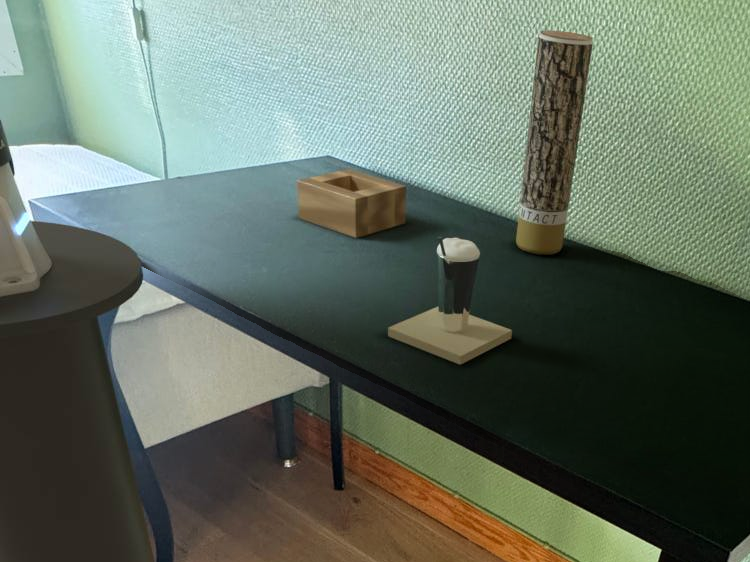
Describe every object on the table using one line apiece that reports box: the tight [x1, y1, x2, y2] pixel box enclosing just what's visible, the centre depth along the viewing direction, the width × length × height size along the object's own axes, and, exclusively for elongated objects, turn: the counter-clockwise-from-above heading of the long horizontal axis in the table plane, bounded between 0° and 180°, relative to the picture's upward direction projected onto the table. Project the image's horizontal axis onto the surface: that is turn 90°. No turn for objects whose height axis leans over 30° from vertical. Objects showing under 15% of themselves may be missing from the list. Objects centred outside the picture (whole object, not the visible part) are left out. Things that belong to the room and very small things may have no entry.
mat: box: [387, 305, 513, 366], centre depth 90 cm, size 10×10×1 cm
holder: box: [296, 168, 407, 239], centre depth 116 cm, size 11×11×5 cm
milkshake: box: [436, 236, 481, 333], centre depth 86 cm, size 5×5×10 cm
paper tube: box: [515, 29, 594, 256], centre depth 108 cm, size 7×7×25 cm
